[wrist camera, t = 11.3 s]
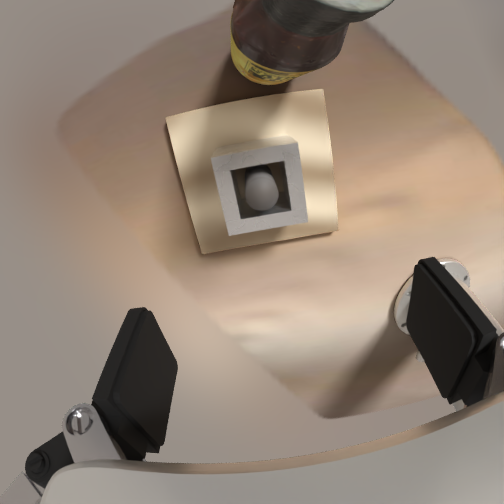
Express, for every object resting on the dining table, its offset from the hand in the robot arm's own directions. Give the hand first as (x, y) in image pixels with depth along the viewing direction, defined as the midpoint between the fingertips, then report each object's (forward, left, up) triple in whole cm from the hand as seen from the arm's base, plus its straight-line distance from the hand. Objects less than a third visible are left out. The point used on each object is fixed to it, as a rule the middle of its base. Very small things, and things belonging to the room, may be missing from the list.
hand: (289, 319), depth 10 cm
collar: (0, 0, -19) cm, 19 cm away
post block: (0, 0, -20) cm, 20 cm away
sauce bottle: (+11, -3, -20) cm, 23 cm away
